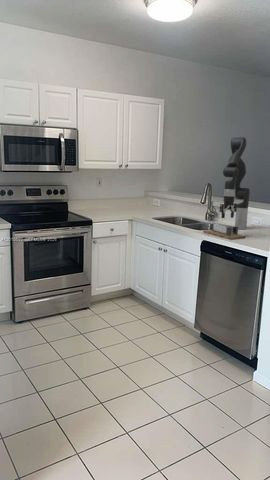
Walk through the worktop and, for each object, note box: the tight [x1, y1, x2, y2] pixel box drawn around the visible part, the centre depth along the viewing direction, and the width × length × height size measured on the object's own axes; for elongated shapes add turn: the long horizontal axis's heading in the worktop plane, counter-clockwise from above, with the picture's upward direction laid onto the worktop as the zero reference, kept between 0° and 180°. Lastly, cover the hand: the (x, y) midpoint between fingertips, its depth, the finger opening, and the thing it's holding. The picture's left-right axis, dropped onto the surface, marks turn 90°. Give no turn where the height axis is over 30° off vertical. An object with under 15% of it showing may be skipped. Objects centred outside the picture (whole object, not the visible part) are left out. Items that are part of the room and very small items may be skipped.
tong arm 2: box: [215, 222, 239, 234], centre depth 286 cm, size 20×2×5 cm, turn 36°
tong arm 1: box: [212, 223, 231, 235], centre depth 284 cm, size 20×2×5 cm, turn 24°
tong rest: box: [202, 222, 247, 241], centre depth 286 cm, size 30×14×8 cm, turn 30°
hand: (227, 217), depth 281 cm, fingers open, 8 cm apart
